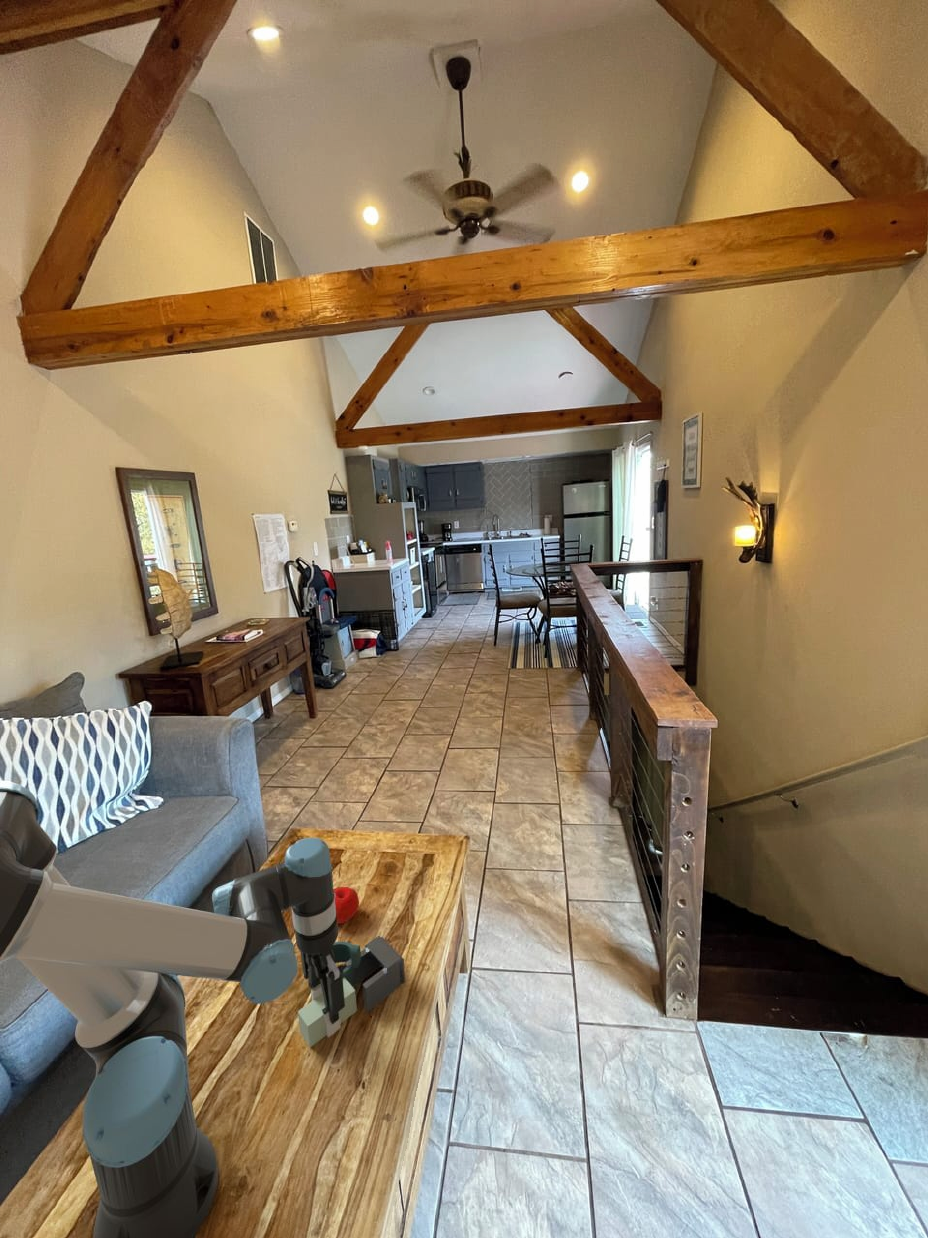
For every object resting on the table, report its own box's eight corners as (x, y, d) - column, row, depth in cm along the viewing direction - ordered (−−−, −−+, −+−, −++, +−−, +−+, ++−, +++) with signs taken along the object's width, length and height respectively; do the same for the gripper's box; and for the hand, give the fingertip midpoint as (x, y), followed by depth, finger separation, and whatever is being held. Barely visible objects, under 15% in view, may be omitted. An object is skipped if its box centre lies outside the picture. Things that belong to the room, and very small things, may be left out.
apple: (344, 937, 117) (341, 910, 115) (319, 924, 121) (316, 897, 119) (366, 913, 124) (364, 887, 122) (342, 901, 128) (340, 876, 126)
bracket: (364, 984, 105) (362, 948, 103) (319, 1005, 100) (316, 968, 99) (352, 952, 112) (349, 918, 111) (310, 970, 108) (306, 935, 106)
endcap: (367, 1012, 99) (365, 985, 98) (346, 986, 105) (344, 959, 104) (405, 982, 106) (403, 956, 104) (383, 958, 111) (381, 933, 110)
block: (310, 1048, 93) (307, 1026, 92) (300, 1032, 96) (297, 1011, 95) (356, 1011, 100) (355, 990, 99) (346, 997, 103) (344, 977, 102)
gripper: (358, 936, 89) (368, 1040, 94) (312, 886, 101) (323, 981, 106) (319, 963, 84) (332, 1072, 89) (275, 906, 96) (289, 1005, 101)
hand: (327, 1022), depth 98 cm, fingers open, 4 cm apart
